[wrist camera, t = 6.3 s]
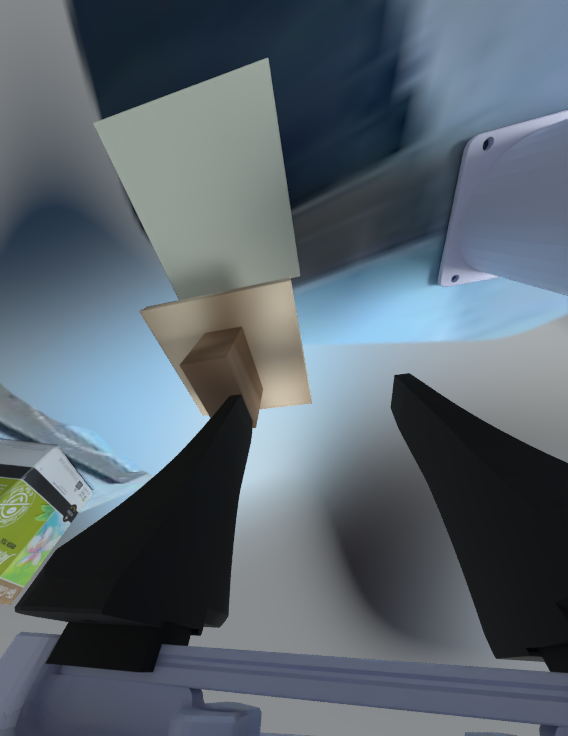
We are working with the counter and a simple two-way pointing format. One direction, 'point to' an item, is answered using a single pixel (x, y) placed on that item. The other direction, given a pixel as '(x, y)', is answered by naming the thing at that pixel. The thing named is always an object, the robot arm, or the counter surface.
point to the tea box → (33, 508)
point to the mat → (209, 182)
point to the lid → (235, 346)
